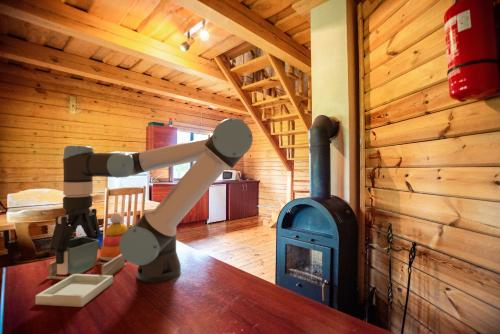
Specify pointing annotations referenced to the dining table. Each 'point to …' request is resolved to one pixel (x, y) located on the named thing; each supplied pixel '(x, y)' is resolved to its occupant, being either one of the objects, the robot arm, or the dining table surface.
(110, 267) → the holder
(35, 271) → the dining table surface
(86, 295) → the tray
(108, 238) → the stacking toy
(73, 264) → the flower pot
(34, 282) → the dining table surface
